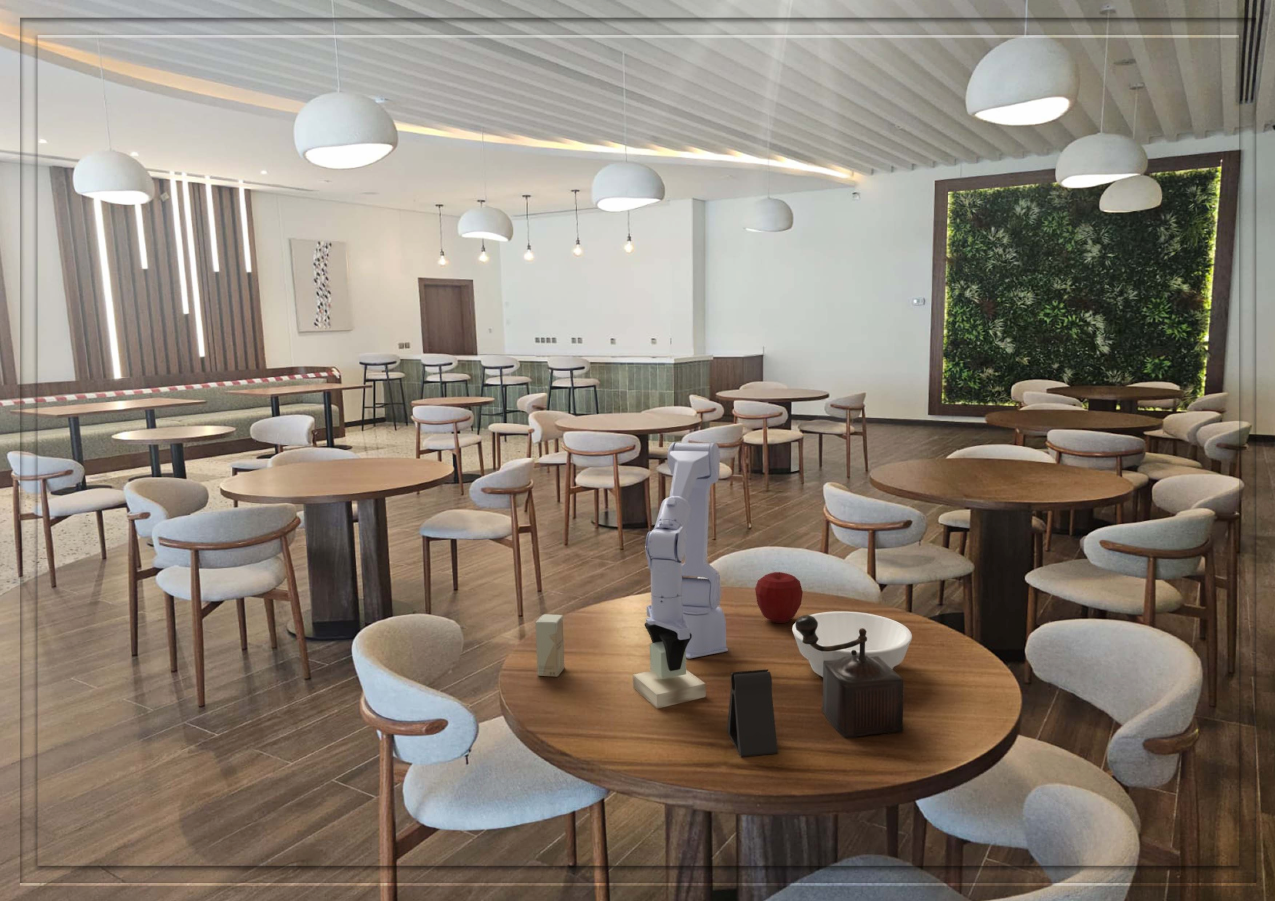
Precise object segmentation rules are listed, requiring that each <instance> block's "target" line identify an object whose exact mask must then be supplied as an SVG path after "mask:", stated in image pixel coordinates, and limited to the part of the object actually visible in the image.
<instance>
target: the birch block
mask: <svg viewBox="0 0 1275 901" xmlns="http://www.w3.org/2000/svg"><path fill="white" fill-rule="evenodd" d="M632 687H633V689H634V690H635V691H637V692H638V694H640V695H641V696H642V697H643V698H644V699H645V700H647V702H648V703H650V704H651V705H652V706H653V707H654V708H656V709H661V708H665V707H669V706H673V705H677V704H678V705H679V704H681V703H686V702H690V701H694V700H698V699H702V698H706V697H707V694H706V693H707V691H706V682H704V681H703V680H701V678H699V677H697V676H696V675H695V674H693V673H691V672H690V671H689V670H687V669H686V674H685V675H680V676H675V677H670V678H665V679H661V678H660V677H658V676H657V675H656V674H655V673H654V672H653V671H652V670H649V671H642V672H639V673H633V674H632Z"/></svg>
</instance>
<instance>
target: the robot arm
mask: <svg viewBox="0 0 1275 901" xmlns="http://www.w3.org/2000/svg"><path fill="white" fill-rule="evenodd" d="M720 454H721V453H720V449H719V445H718V444H717V443H716V442H708V443H707V442H706V443H705V442H677V441H673V442H671V444H669V447H668V449H667V465H668V469H669V471H670V474H671V475H672V478H671V485H670V492H669V497H665V499H663V500H662V501H661V505H660V507H659V511H658V515H657V518H656V521H655V525H654V527H653V529H652V530H651V531H650V530H649V531H648V532H647V534H646V537H645V547H644V548H645V549H644V550H645V557H646V559H647V568H648V570H650V595H651V600H650V601H651V605H646V616H647V617H646V618H645V622H644V627H645V629H646V631H647V632H648V635H649V637H650V639H651V643H656V642H663V645H664V648H665V652H666V658H667V664H668V668H669V670H670V671H674V670H679V669H680V668H681V664H682V660H683V656H684V652H685V649H686V659H688V660H689V659H693V658H698V657H704V656H708V655H709V656H710V655H713V654H714V655H715V654H720V653H725V652H728V651H729V649H728V648H727V623H726V622H727V620H726V615H725V613H724V610H723V609H722V607H720V603H721V596H722V586H721V576H720V573H719V571H718V570H717V569H716V568H714V567H713V566H712V565H711V564H710V563H709V562H708V546H709V545H708V544H709V543H708V541H709V540H708V539H709V538H708V537H709V514H710V513H709V512H710V510H709V507H710V493H711V487H712V485H713V484H716V483H717V482H719V477H720V468H721V466H720V465H721V464H720V463H721V460H720V459H721V455H720ZM683 561H684V563H683Z"/></svg>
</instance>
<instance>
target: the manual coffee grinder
mask: <svg viewBox="0 0 1275 901" xmlns="http://www.w3.org/2000/svg"><path fill="white" fill-rule="evenodd" d="M810 615H811V614H805V615H804V614H803V615H802V616H799V617H798V618H797V619H796V620H795V622H796V625H795V626H796V630H797V631H799V632H800V633H801V634H802V636H803V641H802V642H803V643H804V644H810V645H811V646H812V647H813V648H815V649H816V650H819V651H827V652H828V651H837V650H841V649H846V648H850V647H854V646H856V645H858V644H860V652H859V655H857V652H856V651H855V650H852V651H851V654H852V656H847V657H843V658H841V659H836V660H824V661H823V677H822V681H823V682H822V707H821V711H822V712H823V715H824V716H825V717H826V719H827V721H828V722H829V723H830V724H831V726H832V727H833V729H835V730H836V731H837V733H839V734H840V735H841V736H842V737H843V738H845V739H856V738H857V739H858V738H869V737H878V736H879V737H880V736H885V735H887V736H888V735H893V734H899V733H900V734H901V733H903V732H904V679H903V678H902V677H901V676H900V675H899V674H898V673H897V672H896V671H895V670H892V669H891V668H890V667H889V666H888V665H887V664H886V663H885V662H883V661H882V660H881V659H880V658H879V657H878V656H874V657H868V656H866V655H865V642H866V641H867V637H866V632H867V631H866V630H865V629H864V628H861V629H860V630H859V634H860V636H859V637H858V639H856V640H854V641H851V642H848V643H844V644H840V645H834V646H820V645H818V644H817V641H818V637H817V635H816V633H815V632H816V629H817V627H818V622H817V621H816V619H815V618H814V617H813V616H810Z"/></svg>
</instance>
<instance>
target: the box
mask: <svg viewBox="0 0 1275 901" xmlns="http://www.w3.org/2000/svg"><path fill="white" fill-rule="evenodd" d="M564 638H565V637H564V616H563V614H551V613H550V614H549V613H544V614H542V615H541V616H540V617H539V618H538V619H537V620H536V621H535V641H536V643H535V644H536V664H537V667H536V668H537V676H541V677H543V676H544V677H559V676H560V674H561V673H562V672H563V670H564V669H565V645H564V644H565V642H564V641H565V640H564Z"/></svg>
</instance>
